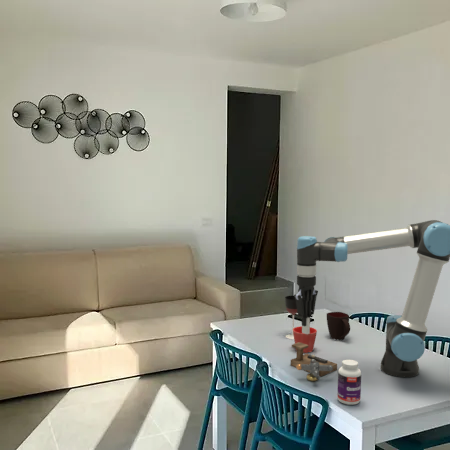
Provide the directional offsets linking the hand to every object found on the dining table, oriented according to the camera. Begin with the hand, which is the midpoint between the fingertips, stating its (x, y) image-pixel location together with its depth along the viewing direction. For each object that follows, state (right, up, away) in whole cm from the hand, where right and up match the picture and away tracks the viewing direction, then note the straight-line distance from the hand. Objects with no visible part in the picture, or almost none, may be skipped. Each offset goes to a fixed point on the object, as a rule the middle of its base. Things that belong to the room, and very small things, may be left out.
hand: (305, 333), depth 204 cm
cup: (+24, -13, +47) cm, 54 cm away
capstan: (+3, -18, -2) cm, 18 cm away
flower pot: (+4, -15, +31) cm, 35 cm away
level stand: (+5, -17, +10) cm, 20 cm away
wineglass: (+2, -13, +50) cm, 52 cm away
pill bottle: (+12, -20, -21) cm, 32 cm away
